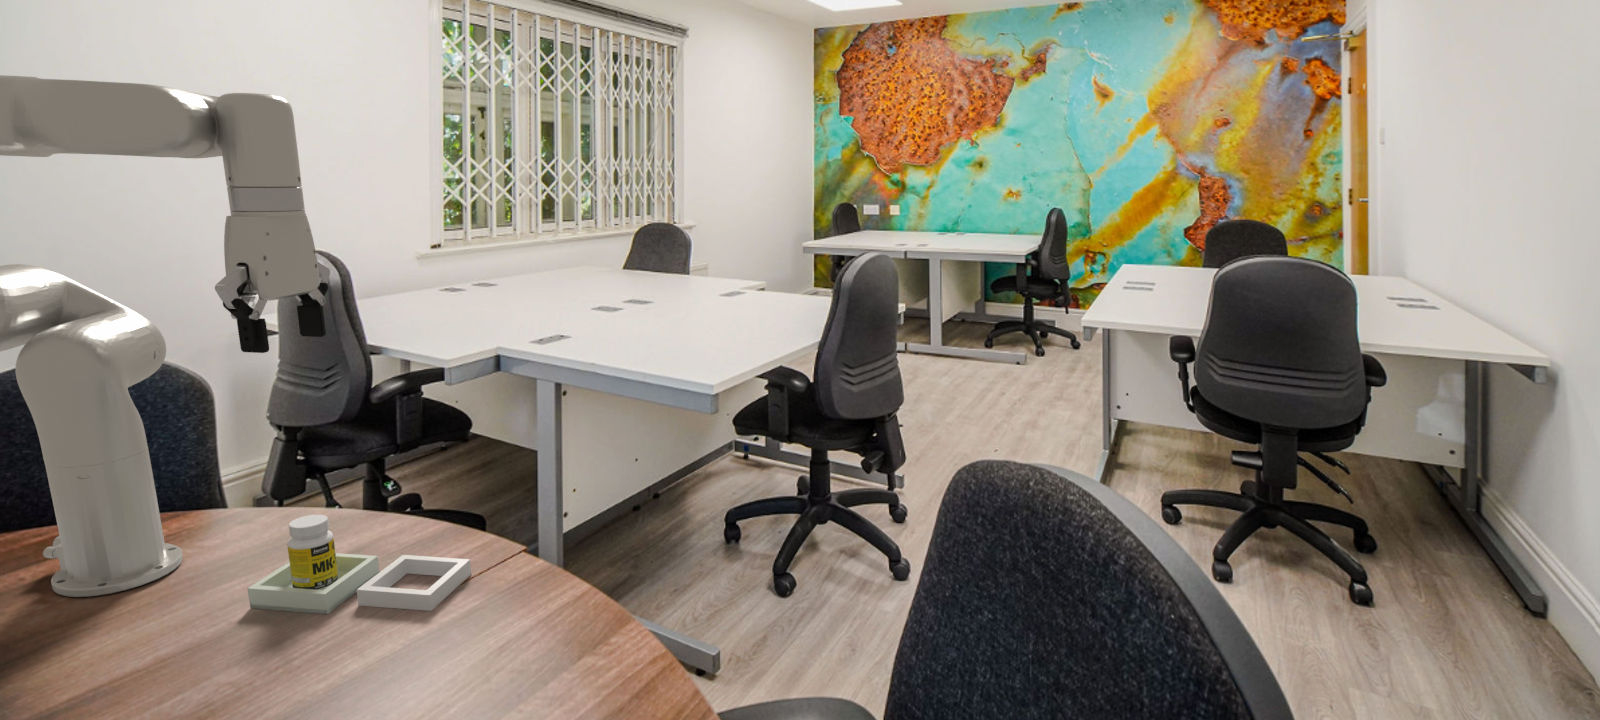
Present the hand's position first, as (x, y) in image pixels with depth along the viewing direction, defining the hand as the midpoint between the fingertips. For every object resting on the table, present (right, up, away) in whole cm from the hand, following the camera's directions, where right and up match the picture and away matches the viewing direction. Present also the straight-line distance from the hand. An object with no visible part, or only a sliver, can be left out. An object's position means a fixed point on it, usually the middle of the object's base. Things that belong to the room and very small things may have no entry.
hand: (285, 343), depth 101 cm
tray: (+6, -30, -3) cm, 30 cm away
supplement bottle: (+5, -29, -3) cm, 30 cm away
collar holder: (+17, -30, -2) cm, 34 cm away
